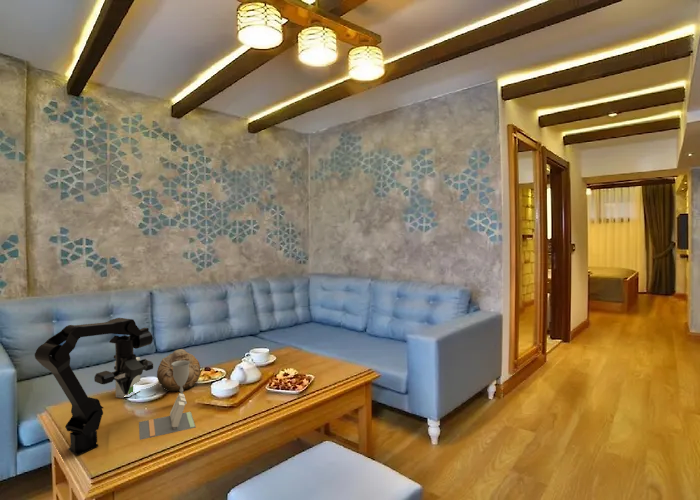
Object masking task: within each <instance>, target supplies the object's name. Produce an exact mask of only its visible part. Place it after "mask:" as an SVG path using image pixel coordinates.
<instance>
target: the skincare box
mask: <svg viewBox="0 0 700 500" xmlns="http://www.w3.org/2000/svg"><path fill="white" fill-rule="evenodd" d="M136 359H137V361H138V360H141V357H139V356H136ZM114 366H116V361H114ZM114 371H116V370H115V369H114ZM120 373H121V372H120ZM114 381H115V398H121V399H125V398H124V396H125V394H124V393H123V391H122V390H121V388H120V386H119V384H118V383H117V381H116V380H114ZM139 381H141V375H138V376H136V377H135V378H134V379H133V381H132V383H131V386H130V389H129V391H128V394H130V393H131V392H133V385H134V384H135V383H137V382H139ZM128 394H126V395H128Z"/></svg>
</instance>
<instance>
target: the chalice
mask: <svg viewBox="0 0 700 500" xmlns="http://www.w3.org/2000/svg"><path fill="white" fill-rule="evenodd" d="M189 364H190V361H186V360H181V361H176V362H173V363H172V366H173V377H174V379H175V381H176V383H177V385H178V386H180V390H179V391H178V392H180V394H184V393H183V392H184V390H183V385H185V383H186V381H187V379H188V376H189ZM186 404H188V402H187V401H186V403H185V405H186Z"/></svg>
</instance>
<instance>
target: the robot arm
mask: <svg viewBox="0 0 700 500" xmlns="http://www.w3.org/2000/svg"><path fill="white" fill-rule="evenodd" d="M109 334H110V335H113V337H112V338H110V340H108V342H109V344H115V348H114V349H115V355H113V359H115V362H116V366H115V365H114V366H113V369H114V371H109V370H104V371H100V372H97V373H96V374H95V375H94V382H95V383H97V384H100V385H106V384H110V383H112V382H114V381H115V380H116V381H117V383H118V384H119V386H120V388H121V390H122V391H123V393H124V394H125V395H126V394H128V391H129V389H130V386H131V383H132V381H133V379H134V378H135V377H136V376H138V375H140V376H141V375H143V372H144V371H146V372H148V371H150V370H151V371H152V370H153V369H154V363H153V362H152V361H151V360H148V359H146V358H144V359H140V360H138V361H137V359H136V357H137V356H136V354H135V353H134V349H141V348H143V347H147V346H149V345H152V343H153V341H154V336H153V334H152V332H150V331H149V327H141V328H139V327H138V326H137V324H136V322H135V319H132V318H127V317H126V318H125V317H124V318H123V317H117V318H113V319H110V320H107V321H105V322H95V323H86V324H85V323H84V324H76V325H74V324H68V325H66V326H65V327H63V329H61V330H60V331H59V332H57V333H55V334H54V335H53V336H51V337H48V339H47V340H46V341H45V342H43V344H41V345H40V346H38V348H36V351H35V353H34V359H35V360H36V361H37V362H38V363H39V364H40V365H41V366H42V367H44V369H47V370H48V371H49V372H51V373H52V375H53V377H54V378H55V380H56V381H57V383H58V384H59V386H60V388H61V389H62V391H63V393H64V394H65V396H66V398H67V399H68V401H69V402H70V404H71V411H70V413H71V417H70V418H69V420H68V422H67V423H66V425H65V430H66V431H67V432H69V437H70V438H69V439H70V441H69V442H70V447H69V448H68V451H69V452H71V453H73V454H74V455H76V456H80V455H82V454H85V453H87V452H89V451H91V450H93V449H96V448H98V447H99V443H98V430H99V429H100V424H101V421H102V417H103V415H104V411H103V409H104V406H102V405H101V402H100V399H98V398H95V397H89V396H88V395H87V393H86V391H85V389H84V388H83V386H82V384H81V382H80V381H79V379H78V378H77V376H76V374H75V372H74V370H73V369H72V367H71V353H72V352H73V351H74V349H75V348H76V347H77V344H78V341H79V340H80V338H85V337H86V338H87V337H94V336H103V335H109ZM119 335H121V336H119ZM61 344H62V345H61ZM115 370H116V371H115ZM120 372H121V373H120Z"/></svg>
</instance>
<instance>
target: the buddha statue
mask: <svg viewBox="0 0 700 500" xmlns="http://www.w3.org/2000/svg"><path fill="white" fill-rule="evenodd" d="M181 360H186V361H190V364H189V376H188V379H187V381H186V383H185V385H183V391H185V390H188V389H191V388H192V387H193V386H195V385H196V384H197V382H198V381H199V378H200V377H201V376H200V375H201V365H200V361H199V360H198V359H197V358H196V357H195V355H194V354H193V353H189V352H187V351H186V350H185V349H183V348H181V349H176V350H174V351H173V352H172V353H169V355H167V356H166V357H164V358H162V360H161V361H160V363H159V365H158V368H157V371H156V378H157V381H158V383H159V384H160V386H161V387H162V388H163V389H164V388H165V389H167V390H168V392H171V393H172V392H180V391H179V390H180V386H178V385H177V383H176V381H175V379H174V377H173V366H172V363H173V362H176V361H181ZM165 389H164V390H165ZM167 390H166V391H167Z"/></svg>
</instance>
